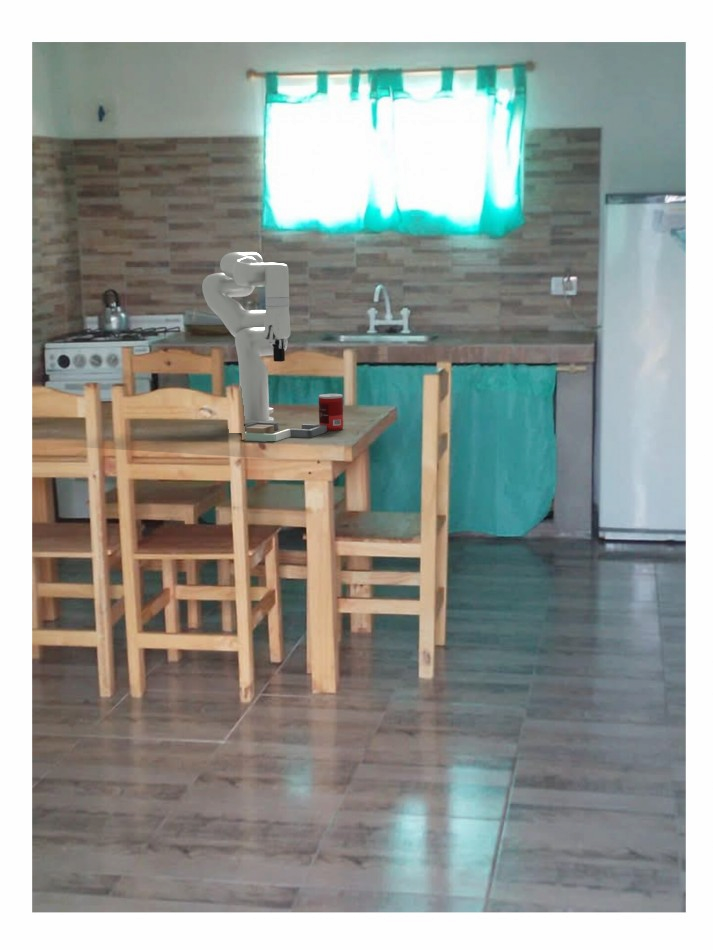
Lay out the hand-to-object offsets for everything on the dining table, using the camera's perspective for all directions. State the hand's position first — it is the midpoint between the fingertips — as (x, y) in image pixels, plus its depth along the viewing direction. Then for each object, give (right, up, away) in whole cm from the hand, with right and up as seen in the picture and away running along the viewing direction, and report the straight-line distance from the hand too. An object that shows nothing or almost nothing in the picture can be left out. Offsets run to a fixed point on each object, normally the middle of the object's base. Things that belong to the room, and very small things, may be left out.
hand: (279, 361), depth 398 cm
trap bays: (+1, -23, -2) cm, 23 cm away
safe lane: (-3, -25, -12) cm, 28 cm away
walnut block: (-5, -25, -13) cm, 29 cm away
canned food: (+17, -22, +4) cm, 28 cm away
